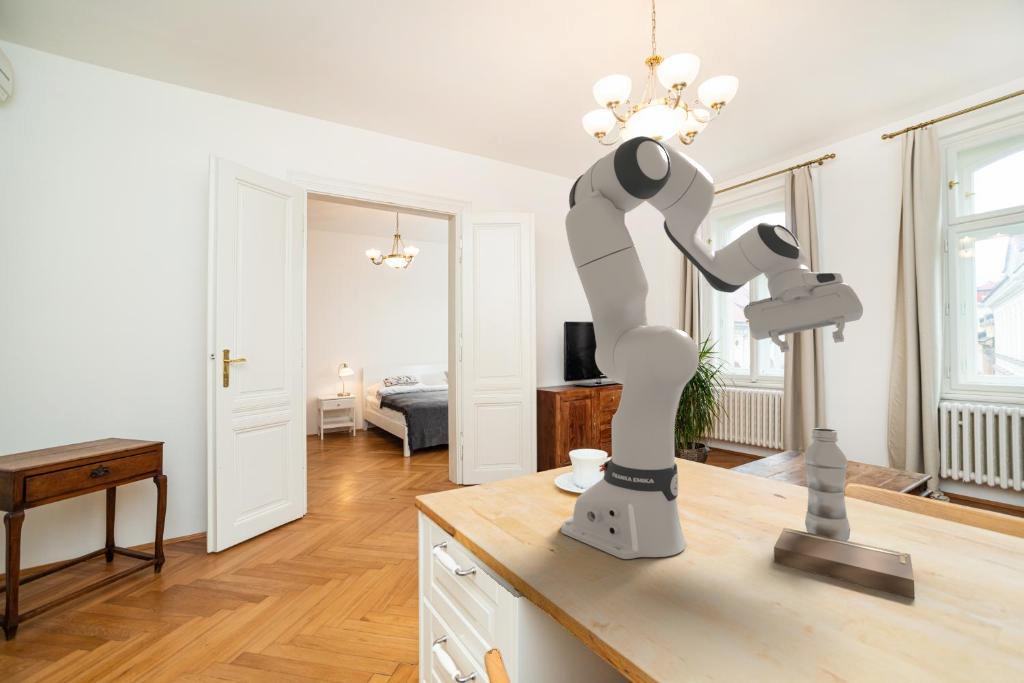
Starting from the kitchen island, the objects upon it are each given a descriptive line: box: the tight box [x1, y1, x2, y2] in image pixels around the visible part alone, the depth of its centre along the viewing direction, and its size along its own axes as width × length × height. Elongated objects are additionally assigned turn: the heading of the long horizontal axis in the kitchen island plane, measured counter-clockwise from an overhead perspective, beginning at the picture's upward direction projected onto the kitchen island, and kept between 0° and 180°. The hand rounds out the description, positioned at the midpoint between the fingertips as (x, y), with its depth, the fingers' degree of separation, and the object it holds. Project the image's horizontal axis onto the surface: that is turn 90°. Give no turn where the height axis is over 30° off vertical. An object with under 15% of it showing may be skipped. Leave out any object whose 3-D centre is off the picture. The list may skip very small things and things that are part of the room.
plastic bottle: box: [802, 427, 851, 541], centre depth 81 cm, size 6×7×20 cm
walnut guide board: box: [773, 527, 916, 599], centre depth 71 cm, size 17×10×3 cm, turn 51°
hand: (811, 345), depth 91 cm, fingers open, 8 cm apart
